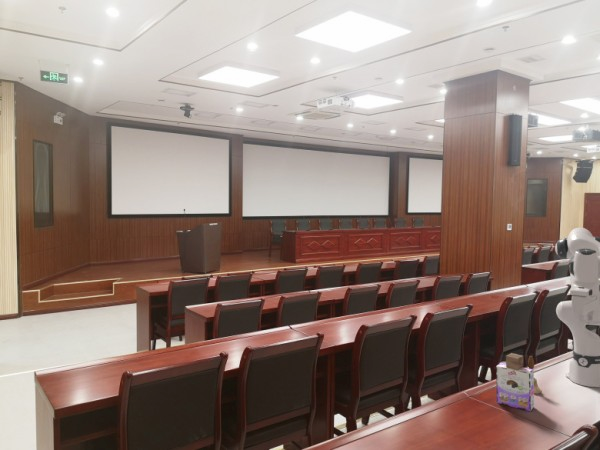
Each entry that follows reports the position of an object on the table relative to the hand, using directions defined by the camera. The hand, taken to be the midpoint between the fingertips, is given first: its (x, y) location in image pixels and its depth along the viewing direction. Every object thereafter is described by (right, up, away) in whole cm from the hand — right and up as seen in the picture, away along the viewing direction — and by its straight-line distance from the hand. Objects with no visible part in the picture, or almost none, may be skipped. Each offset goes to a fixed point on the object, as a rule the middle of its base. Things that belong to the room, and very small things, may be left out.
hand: (586, 322), depth 178 cm
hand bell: (-11, -37, +23) cm, 45 cm away
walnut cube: (-26, -21, +7) cm, 34 cm away
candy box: (-25, -38, +8) cm, 46 cm away
